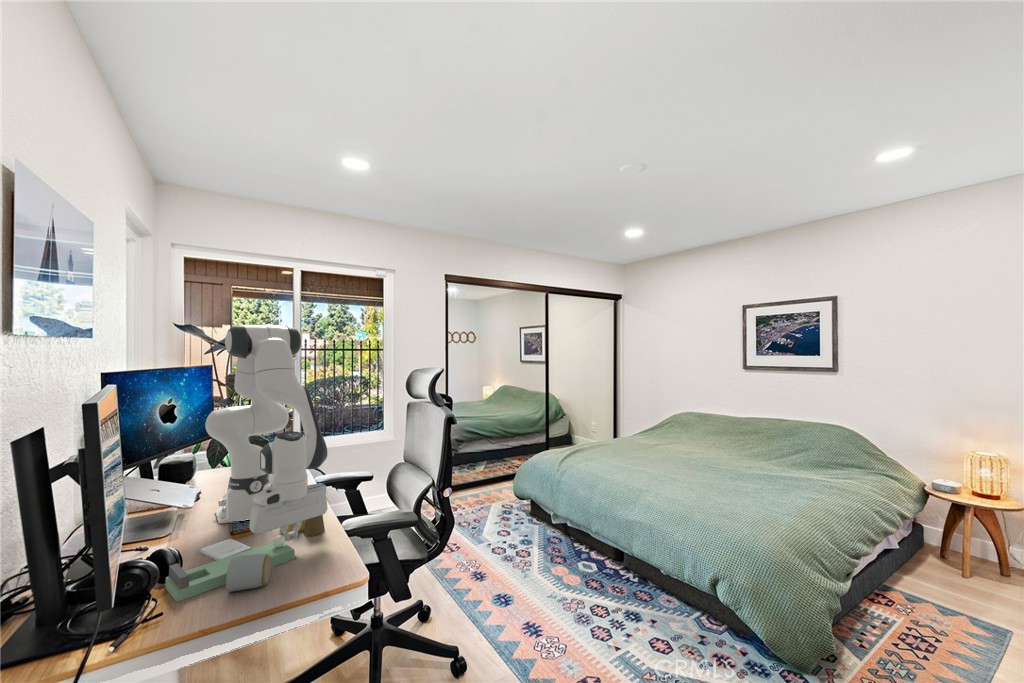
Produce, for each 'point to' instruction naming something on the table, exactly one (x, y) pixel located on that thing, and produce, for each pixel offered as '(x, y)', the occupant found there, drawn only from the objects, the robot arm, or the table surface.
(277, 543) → the ball
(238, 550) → the external hard drive
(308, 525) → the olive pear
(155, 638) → the table surface
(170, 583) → the putting strip
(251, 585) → the ceramic mug
